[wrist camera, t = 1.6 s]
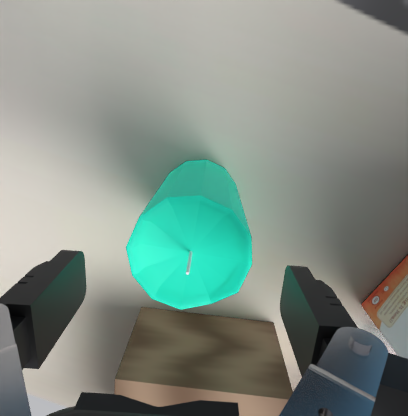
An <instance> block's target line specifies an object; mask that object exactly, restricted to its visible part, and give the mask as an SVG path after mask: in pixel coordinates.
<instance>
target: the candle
mask: <svg viewBox="0 0 408 416" xmlns="http://www.w3.org/2000/svg"><path fill="white" fill-rule="evenodd" d="M126 250H127V254H128V258H129V263H130V267H131V272H132V276H133V277H134V278H135V279H136V280H137V282H138V283H139V284H140V285H141V286H142V288H143V289H144V290H145V291H146V293H147V294H148V295H149V296H150V297H151V299H153V300H156V301H159V302H161V303H164V304H167V305H169V306H172V307H175V308H177V309H180V310H182V309H187V308H192V307H198V306H203V305H208V304H212V303H215V302H217V301H220V300H222V299H224V298H227V297H229V296H231V295H234V294H236V293H238V291H239V289H240V287H241V285H242V284H243V282H244V280H245V278H246V276H247V274H248V272H249V270H250V268H251V266H252V237H251V234H250V231H249V227H248V224H247V220H246V217H245V214H244V210H243V207H242V204H241V200H240V197H239V194H238V190H237V187H236V184H235V182H234V181H233V179H232V178H231V177H230V175H229V174H228V172H227V171H226V169H225V168H224V167H221V166H219V165H217V164H215V163H213V162H211V161H209V160H207V159H205V160H193V161H186V162H184V163H183V164H181V165H180V166H178V167H177V168H176V169H174V170H173V171H171V172H170V173H169V175H168V176H167V178H166V179H165V180H164V182H163V183H162V185H161V186H160V188H159V189H158V191H157V192H156V193H155V195H154V196H153V198H152V199H151V201H150V202H149V204H148V205H147V207H146V208H145V209H144V211H143V212H142V214H141V215H140V217H139V219H138V221H137V223H136V226H135V228H134V230H133V233H132V235H131V237H130V239H129V242H128V244H127V246H126Z"/></svg>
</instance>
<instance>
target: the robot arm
mask: <svg viewBox="0 0 408 416" xmlns="http://www.w3.org/2000/svg"><path fill="white" fill-rule="evenodd" d="M85 293H86V275H85V259H84V254H83V252H82V251H71V250H61V251H60V252H59V253H58V254H57V255H56V256H55V257H54V258H53V259H52V260H51V261H50V262H48V261H46V262H44V263H42V264H40V265H38V266H36V267H34V268H33V269H32V270H30V271H29V272H28V273H27V274H26V275H25V277H23V278H22V279H21V280H19V281H18V284H15V285H14V286H13V287H12V288H11V289H9V290H8V291H7V292H6V293H5V294H4V295H3V296H2V297H1V298H0V416H31V412H30V407H29V402H28V397H27V392H26V387H25V383H24V378H23V373H22V370H23V368H32V369H39V368H40V366H41V365H42V363H43V362H44V360H45V359H46V357H47V356H48V354H49V353H50V351H51V350H52V348H53V347H54V345H55V343H56V342H57V340H58V339H59V337H60V336H61V334H62V333H63V331H64V330H65V328H66V327H67V325H68V324H69V322H70V321H71V319H72V318H73V316H74V315H75V313H76V312H77V310H78V308H79V307H80V305H81V304H82V302H83V300H84V297H85ZM280 312H281V317H282V320H283V323H284V326H285V329H286V332H287V335H288V337H289V340H290V343H291V346H292V349H293V352H294V355H295V358H296V361H297V364H298V367H299V370H300V373H301V376H302V378H301V380H300V382H299V383H298V385H297V387H296V388H295V390H294V392H293V393H292V395H291V397H290V398H289V400H288V401H287V403H286V405H285V406H284V408H283V410H282V411H281V413H280V415H279V416H408V359H407V358H403V357H400V356H396V355H393V354H390V353H388V350H387V347H386V346H385V344H384V343H383V342H382V341H381V340H380V339H379V338H377V337H376V336H375V335H373V334H371V333H369V332H367V331H365V330H363V329H359V328H358V327H357V326H356V324H355V323H354V321H353V320H352V318H351V317H350V315H349V314H348V312H347V311H346V309H345V308H344V306H342V303H341V302H340V300H339V299H337V296H336V294H335V293H334V292H333V290H332V289H331V288H330V287H329V286H328V285H326V284H325V283H324V282H322V281H321V280H315V278H314V277H313V275H312V274H311V272H310V270H309V269H308V267H302V266H287V267H286V270H285V275H284V281H283V287H282V293H281V300H280ZM47 416H239V408H238V403H236V402H221V401H206V400H197V401H192V402H186V403H180V404H174V405H169V406H163V407H156V406H153V405H150V404H147V403H143V402H140V401H137V400H134V399H131V398H128V397H125V396H122V395H116V394H101V393H86V392H82V393H81V395H80V397H79V399H78V401H77V404H76V406H74V407H69V408H66V409H62V410H59V411H57V412H54V413H51V414H49V415H47Z"/></svg>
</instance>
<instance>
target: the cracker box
mask: <svg viewBox="0 0 408 416" xmlns="http://www.w3.org/2000/svg"><path fill="white" fill-rule="evenodd" d="M362 307H363V308H364V310H365V311H366V312H367V314H368V315H369V316H370V318H371V319H372V321H373V322H374V324H375V325H376V326H377V328H378V329H379V331H380V332H381V333H382V335H383V336H384V337H385V339H386V340H387V341H388V343H389V344H390V345H391V347H392V348H393V349H394V351H395V352H396V354H397V355H398V356H400V357H403V358H407V359H408V255H407V256H406V257H405V258H404V260H403V261H402V262H401V263H400V264H399V265H398V266H397V267H396V268H395V269H394V270H393V271H392V272H391V273H390V274H389V275H388V276H387V278H386V279H385V280H384V281H383V282H382V283H381V284H380V285H379V286H378V287H377V288H376V289H375V290H374V291H373V292H372V293H371V294H370V295H369V296H368V297H367V299H366V300H365V301H364V302H363V303H362Z"/></svg>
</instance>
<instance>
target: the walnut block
mask: <svg viewBox="0 0 408 416" xmlns="http://www.w3.org/2000/svg"><path fill="white" fill-rule="evenodd" d="M292 393H293V391H292V387H291V384H290V380H289V377H288V373H287V369H286V366H285V362H284V359H283V355H282V352H281V348H280V344H279V341H278V337H277V334H276V330H275V326H274V323H272V322H264V321H255V320H247V319H239V318H230V317H222V316H213V315H205V314H196V313H188V312H179V311H171V310H163V309H154V308H146V307H141V310H140V312H139V315H138V318H137V321H136V323H135V326H134V329H133V331H132V334H131V337H130V340H129V342H128V345H127V348H126V350H125V353H124V356H123V359H122V361H121V364H120V367H119V369H118V372H117V375H116V378H115V391H114V394H116V395H122V396H125V397H128V398H131V399H134V400H137V401H140V402H143V403H147V404H150V405H153V406H156V407H163V406H169V405H174V404H180V403H186V402H192V401H197V400H206V401H221V402H236V403H238V408H239V416H279V415H280V413H281V411H282V410H283V408H284V406H285V405H286V403H287V401H288V400H289V398H290V397H291V395H292Z"/></svg>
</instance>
